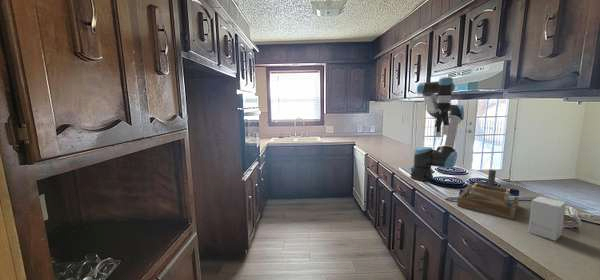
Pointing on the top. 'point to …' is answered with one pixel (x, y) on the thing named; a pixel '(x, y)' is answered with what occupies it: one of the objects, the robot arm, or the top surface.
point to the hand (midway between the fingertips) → (441, 136)
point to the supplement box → (547, 217)
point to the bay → (487, 205)
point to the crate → (490, 191)
